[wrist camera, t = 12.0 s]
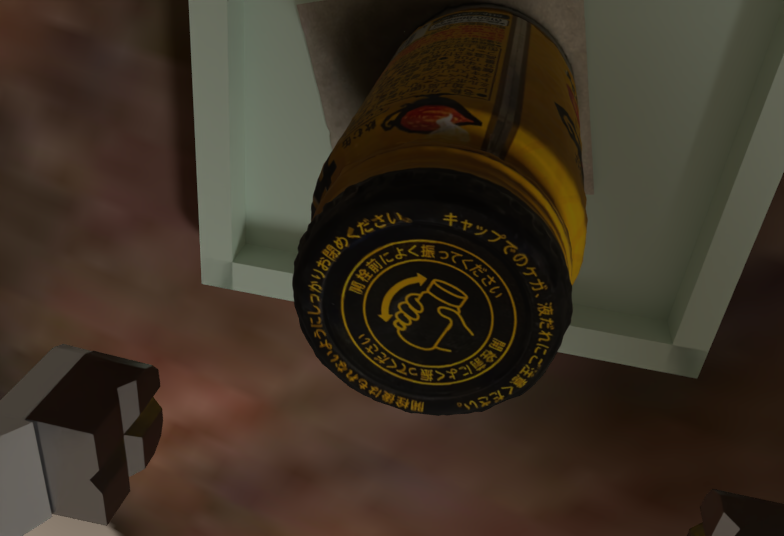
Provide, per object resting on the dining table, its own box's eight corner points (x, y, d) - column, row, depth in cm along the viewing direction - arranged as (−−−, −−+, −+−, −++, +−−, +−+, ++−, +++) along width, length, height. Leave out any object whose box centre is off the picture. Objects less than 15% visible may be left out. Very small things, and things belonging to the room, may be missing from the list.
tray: (688, 344, 27) (697, 378, 26) (222, 256, 29) (201, 283, 28) (885, -152, 19) (917, -148, 17) (207, -231, 21) (177, -234, 19)
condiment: (594, 191, 24) (621, 457, 14) (348, 212, 27) (222, 457, 16) (581, -44, 21) (606, 90, 11) (299, 1, 23) (101, 150, 13)
